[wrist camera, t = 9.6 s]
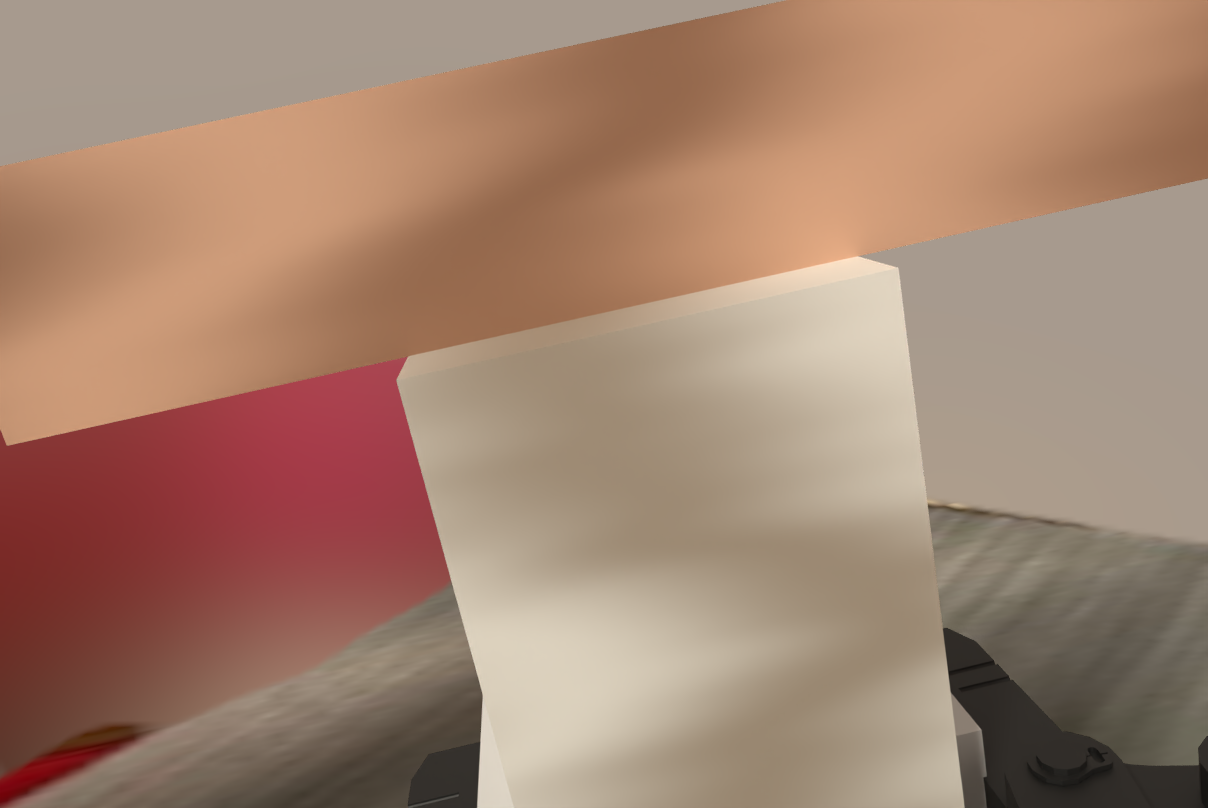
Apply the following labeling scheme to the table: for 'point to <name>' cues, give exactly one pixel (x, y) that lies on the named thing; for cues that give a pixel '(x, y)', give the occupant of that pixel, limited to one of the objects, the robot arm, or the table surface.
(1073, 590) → the table surface
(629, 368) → the t-key
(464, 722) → the table surface
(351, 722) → the table surface
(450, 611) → the table surface
